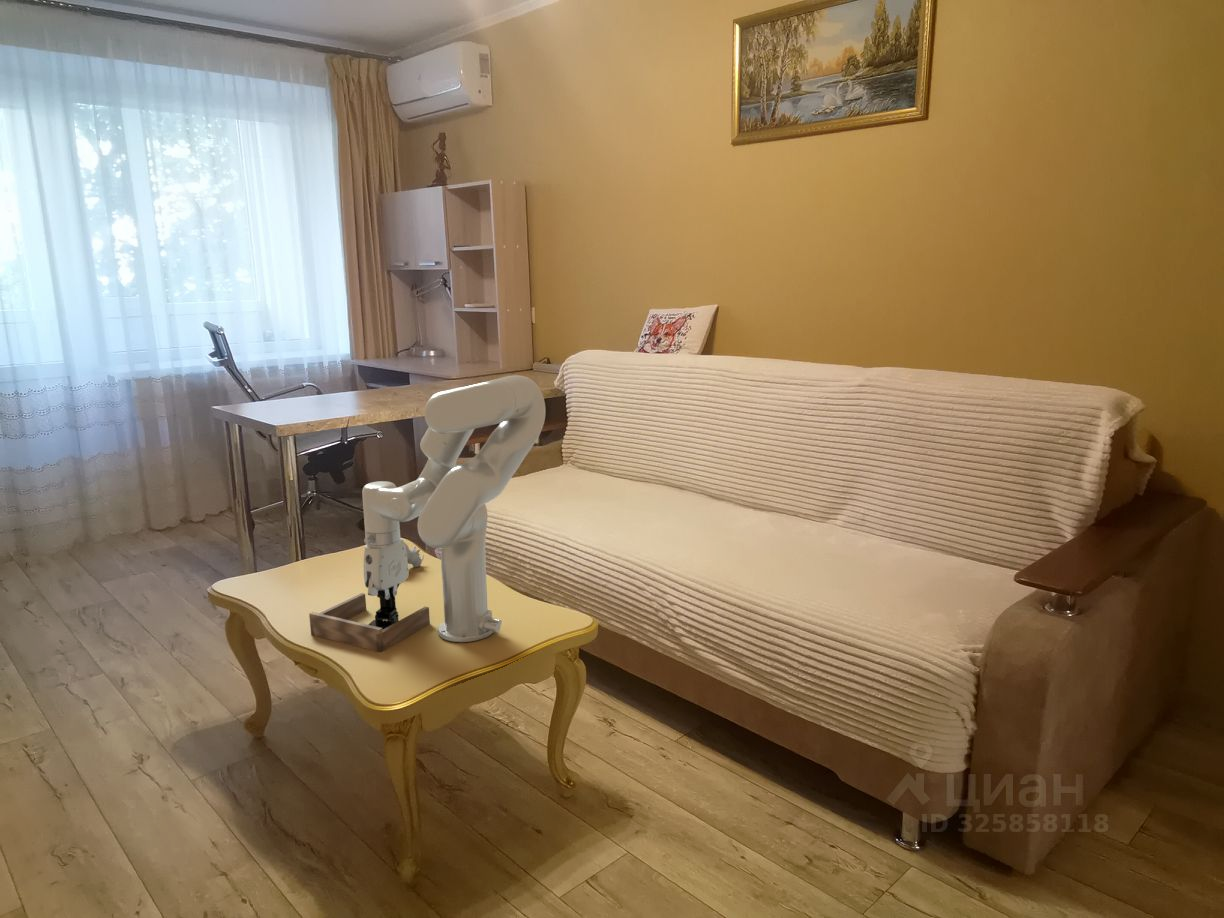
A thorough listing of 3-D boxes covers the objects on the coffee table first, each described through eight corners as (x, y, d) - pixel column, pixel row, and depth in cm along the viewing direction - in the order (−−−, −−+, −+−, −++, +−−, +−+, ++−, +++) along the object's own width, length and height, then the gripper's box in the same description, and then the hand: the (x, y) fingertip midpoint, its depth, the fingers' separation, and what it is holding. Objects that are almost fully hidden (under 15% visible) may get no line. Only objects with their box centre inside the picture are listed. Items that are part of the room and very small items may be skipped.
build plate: (354, 633, 179) (352, 614, 178) (370, 620, 186) (369, 601, 185) (406, 637, 177) (404, 617, 176) (420, 623, 184) (418, 604, 183)
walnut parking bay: (429, 623, 183) (428, 603, 182) (380, 652, 169) (378, 629, 168) (363, 608, 191) (361, 589, 190) (311, 634, 177) (309, 613, 176)
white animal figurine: (423, 579, 218) (433, 549, 218) (381, 572, 210) (392, 541, 210) (413, 571, 223) (423, 542, 223) (373, 564, 216) (382, 534, 216)
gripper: (371, 548, 173) (377, 628, 177) (418, 529, 186) (422, 604, 190) (345, 543, 176) (352, 622, 180) (393, 525, 189) (398, 599, 193)
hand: (388, 612), depth 185 cm, fingers closed
